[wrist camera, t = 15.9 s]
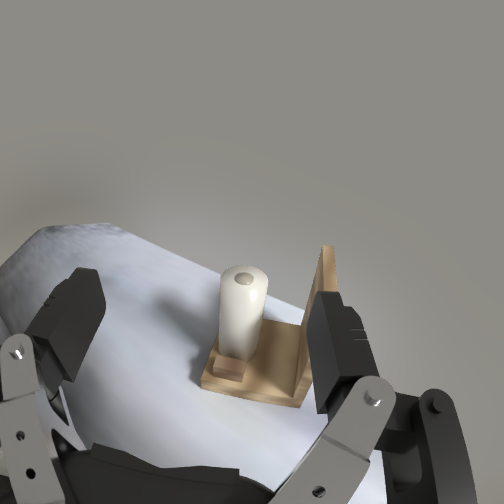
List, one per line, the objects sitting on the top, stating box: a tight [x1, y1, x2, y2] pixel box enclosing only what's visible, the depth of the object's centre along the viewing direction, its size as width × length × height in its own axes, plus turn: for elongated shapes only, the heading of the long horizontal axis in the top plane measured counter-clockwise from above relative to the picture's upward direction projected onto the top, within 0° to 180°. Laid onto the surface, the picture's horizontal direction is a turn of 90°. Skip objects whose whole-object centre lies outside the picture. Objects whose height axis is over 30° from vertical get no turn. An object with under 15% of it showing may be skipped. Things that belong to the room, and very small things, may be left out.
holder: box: [200, 245, 337, 408], centre depth 38 cm, size 14×14×18 cm
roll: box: [219, 265, 268, 362], centre depth 38 cm, size 6×6×13 cm
